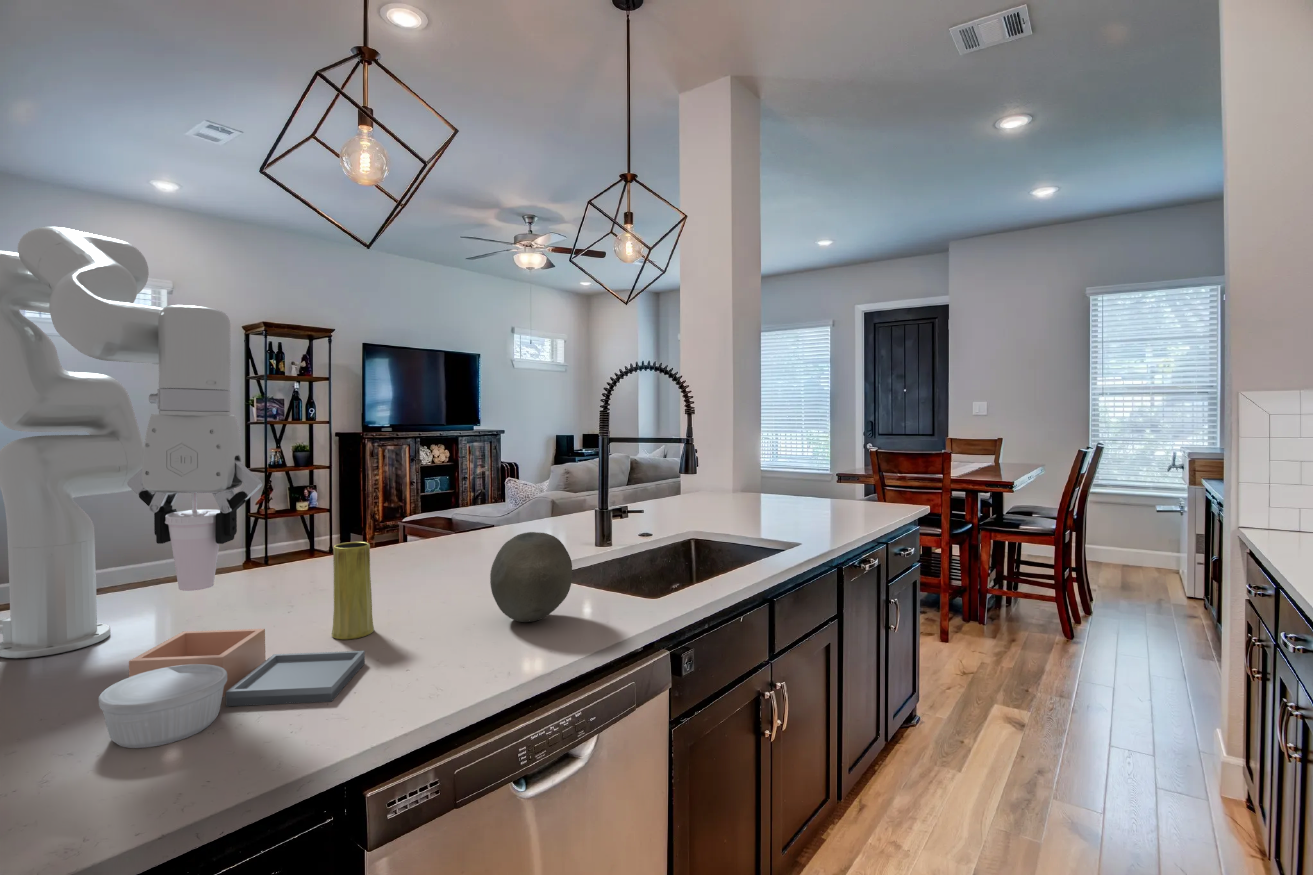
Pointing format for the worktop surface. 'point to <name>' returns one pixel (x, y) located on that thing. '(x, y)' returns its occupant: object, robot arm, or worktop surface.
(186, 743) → the worktop surface
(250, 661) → the holder
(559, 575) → the dark grey ball
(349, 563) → the vase
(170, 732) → the ramekin
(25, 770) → the worktop surface
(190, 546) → the smoothie
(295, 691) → the tray
